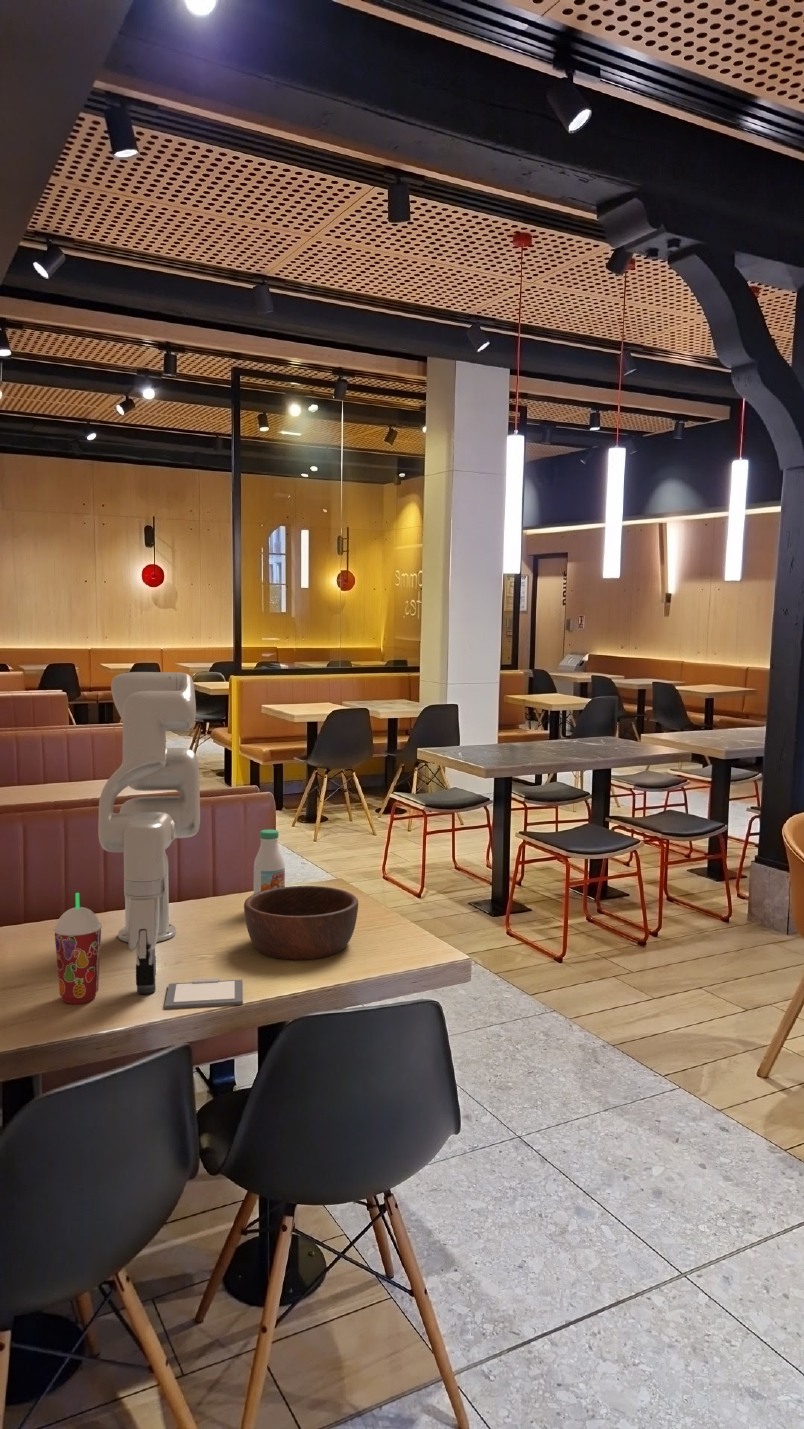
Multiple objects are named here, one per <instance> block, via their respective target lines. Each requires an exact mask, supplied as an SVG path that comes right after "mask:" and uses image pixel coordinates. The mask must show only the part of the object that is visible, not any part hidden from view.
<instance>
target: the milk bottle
mask: <svg viewBox="0 0 804 1429" xmlns="http://www.w3.org/2000/svg"><path fill="white" fill-rule="evenodd" d="M279 835H280V833H279V831H278V830H277V829H262V830H260V832H259V838H260V839H259V840H260V845H259V849H258V852H257V854H256V856H255V858H254V862H253V894H256V893H258V892H261V891H265V890H269V889H274V888H280V887H286V871H285V870H286V868H285V867H286V866H285V859H284V856H283V854H282V851H281V849H280V847H279V843H278V840H279Z"/></svg>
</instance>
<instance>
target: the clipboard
mask: <svg viewBox="0 0 804 1429" xmlns="http://www.w3.org/2000/svg"><path fill="white" fill-rule="evenodd" d="M243 987H244V986H243V979H232V980H231V979H228V980H220V978H219V977H217V978H216V977H215V978H214V977H213V978H199V979H192V982H175V983H174V982H173V983H172V982H171V983H168V987H167V992H166V995H165V996H166V997H165V1001H164V1010H172V1009H183V1008H184V1009H186V1008H187V1009H189V1008H202V1007H203V1008H206V1007H220V1006H223V1007H224V1006H236V1005H244V1001H243V1000H244V993H243V990H244V988H243Z"/></svg>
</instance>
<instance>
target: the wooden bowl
mask: <svg viewBox="0 0 804 1429" xmlns="http://www.w3.org/2000/svg"><path fill="white" fill-rule="evenodd" d="M243 910H244V911H243V912H244V918H245V923H246V924H245V925H246V929H247V934H248V936H249V938H250V941H251V943H252V944H253V946H254V948H256V950H257V951H258V952H260V953H261V954H263V955H266V956H267V957H271V958H274V959H275V958H276V959H281V960H293V961H302V960H304V961H305V960H314V959H322V958H326V957H330V956H333V955H336V954H338V953H339V952H341V951H342V950H344V949H345V948H346V947H347V946H348V944H349V942H350V941H351V939H352V937H353V934H354V932H355V927H356V923H357V919H358V918H357V917H358V913H359V912H358V911H359V900H358V897H357V896H356V895H354V894H353V893H351V892H349V891H346V890H343V889H339V888H335V887H334V888H333V887H329V886H321V885H320V886H318V885H294V886H293V885H292V886H285V887H280V888H274V889H269V890H265V891H261V892H258V893H256V894H254V893H252V895H249V897H247V898H246V899H245V901H244V904H243Z"/></svg>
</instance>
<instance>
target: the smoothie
mask: <svg viewBox="0 0 804 1429" xmlns="http://www.w3.org/2000/svg"><path fill="white" fill-rule="evenodd" d="M102 926H103V925H102V922H100V920H99V918H98V916H97V915H96V914H95V912H93V911H92V910H91V909H90V908H88V907H83V906H80V892H76V893H75V907H72V908H69V909H67V910H66V911H65V912H63V913H62V915H60V917H59V918H58V921H57V922H56V924H55V926H54V927H53V932H54V941H55V942H54V943H55V953H56V965H57V976H58V977H57V978H58V987H59V988H58V989H59V995H60V996H61V998H62V1001H63V1002H64V1003H66V1004H69V1005H80V1004H86V1003H88V1002H90V1001H93V1000H94V999H95V998H96V996H97V994H96V993H98V991H99V983H100V980H99V979H100V962H101V961H100V960H101V959H100V958H101V942H102V940H101V939H102Z"/></svg>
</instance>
